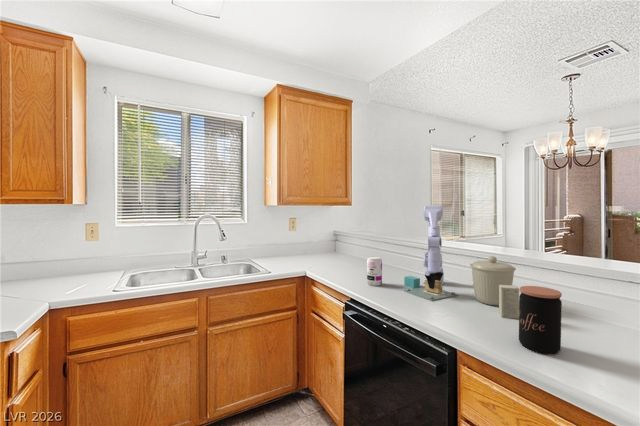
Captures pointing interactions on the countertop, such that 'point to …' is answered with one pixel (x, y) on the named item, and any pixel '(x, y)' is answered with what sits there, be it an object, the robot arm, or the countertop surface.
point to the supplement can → (374, 271)
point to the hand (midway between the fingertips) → (434, 287)
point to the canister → (490, 279)
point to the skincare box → (509, 301)
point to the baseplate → (430, 294)
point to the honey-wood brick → (436, 287)
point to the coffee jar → (540, 319)
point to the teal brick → (412, 281)
